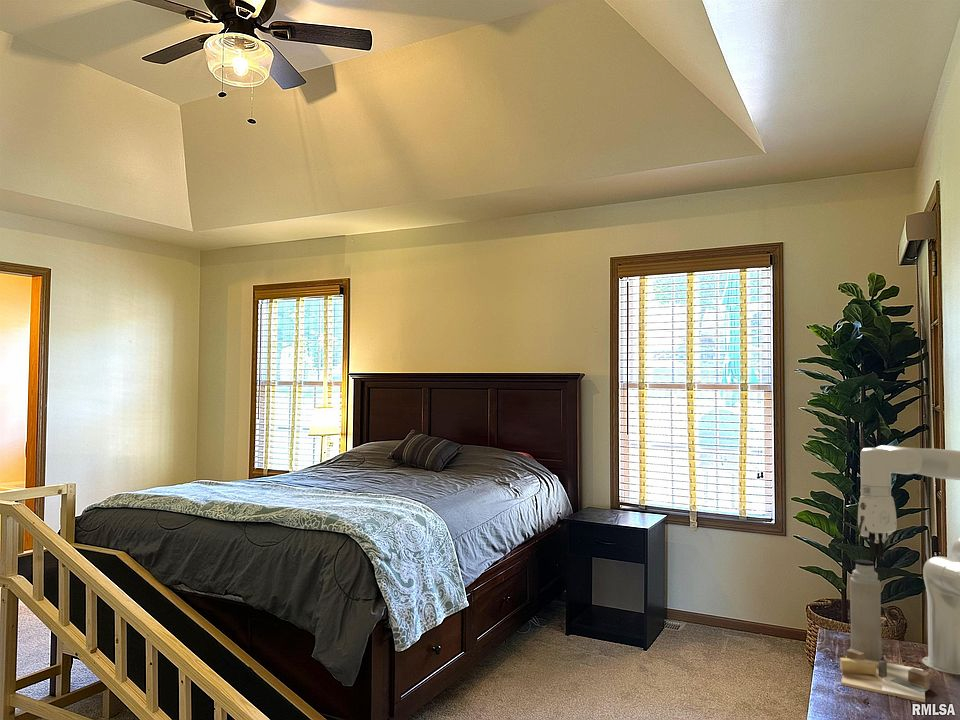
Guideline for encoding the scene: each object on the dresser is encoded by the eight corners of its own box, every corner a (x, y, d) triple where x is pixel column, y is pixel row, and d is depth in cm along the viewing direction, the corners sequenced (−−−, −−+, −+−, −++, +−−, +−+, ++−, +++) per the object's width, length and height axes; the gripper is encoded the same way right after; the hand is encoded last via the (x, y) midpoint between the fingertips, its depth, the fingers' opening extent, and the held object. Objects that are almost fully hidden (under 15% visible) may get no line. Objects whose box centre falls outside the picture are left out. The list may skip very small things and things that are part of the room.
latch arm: (873, 671, 192) (873, 660, 193) (876, 674, 190) (876, 663, 190) (839, 668, 194) (839, 657, 194) (842, 671, 192) (842, 660, 192)
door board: (846, 659, 205) (845, 642, 205) (928, 675, 194) (927, 656, 194) (841, 686, 187) (840, 667, 187) (931, 705, 176) (931, 685, 176)
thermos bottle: (873, 651, 211) (872, 558, 212) (886, 661, 203) (885, 564, 204) (846, 650, 212) (844, 557, 213) (858, 660, 204) (857, 563, 205)
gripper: (867, 494, 193) (868, 561, 192) (907, 492, 198) (908, 557, 197) (844, 490, 200) (845, 555, 199) (884, 488, 205) (884, 551, 204)
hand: (876, 556), depth 198 cm, fingers closed
